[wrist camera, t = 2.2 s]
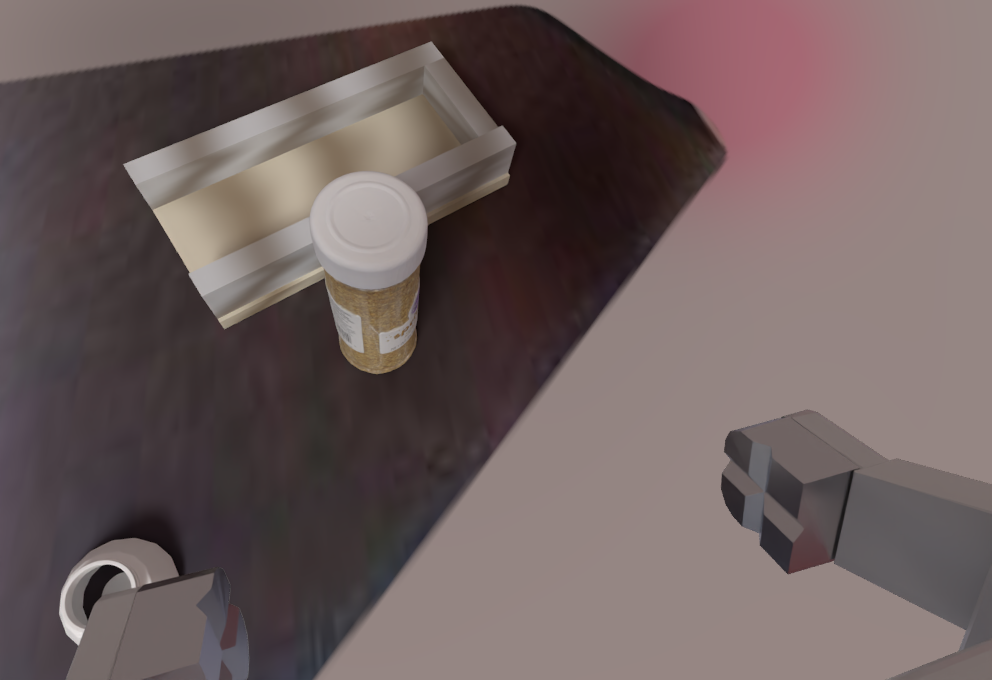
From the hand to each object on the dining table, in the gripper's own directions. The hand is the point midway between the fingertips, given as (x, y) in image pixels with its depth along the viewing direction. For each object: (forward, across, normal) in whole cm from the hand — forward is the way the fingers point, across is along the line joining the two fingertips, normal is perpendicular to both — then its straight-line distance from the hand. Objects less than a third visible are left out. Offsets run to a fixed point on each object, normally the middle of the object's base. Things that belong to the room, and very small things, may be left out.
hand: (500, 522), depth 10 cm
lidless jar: (+19, +15, +16) cm, 29 cm away
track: (+33, +1, +1) cm, 33 cm away
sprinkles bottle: (+26, 0, +8) cm, 27 cm away
